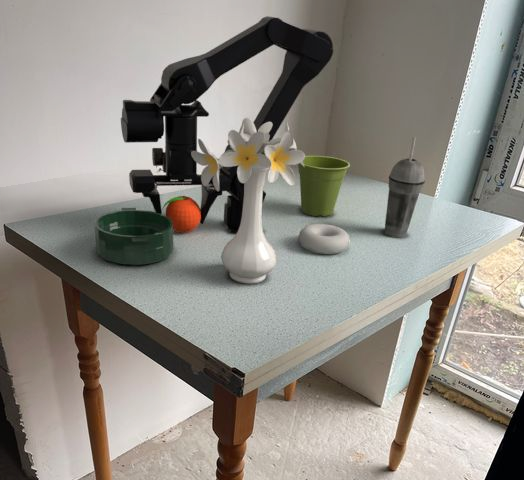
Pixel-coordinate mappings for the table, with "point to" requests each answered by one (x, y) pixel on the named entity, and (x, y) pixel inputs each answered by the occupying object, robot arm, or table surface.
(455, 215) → the table surface
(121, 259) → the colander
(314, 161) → the plant pot
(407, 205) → the beverage cup
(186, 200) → the clementine
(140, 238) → the colander handles
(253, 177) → the flower vase
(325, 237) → the donut
